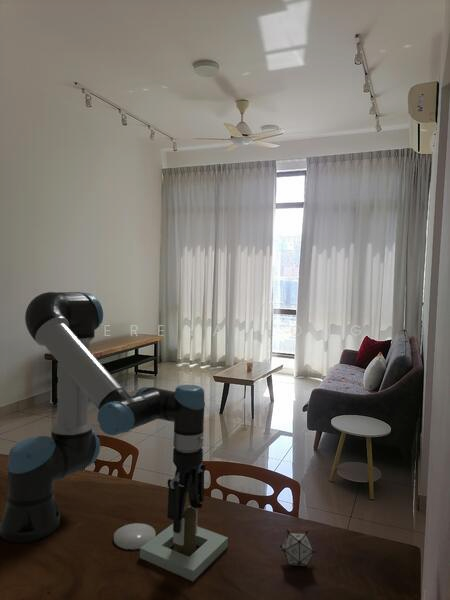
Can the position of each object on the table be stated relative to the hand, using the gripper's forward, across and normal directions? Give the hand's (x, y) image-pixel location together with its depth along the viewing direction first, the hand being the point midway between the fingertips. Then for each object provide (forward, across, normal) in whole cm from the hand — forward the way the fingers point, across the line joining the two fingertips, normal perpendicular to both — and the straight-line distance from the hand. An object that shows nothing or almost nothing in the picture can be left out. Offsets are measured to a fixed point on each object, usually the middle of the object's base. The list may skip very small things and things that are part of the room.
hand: (185, 537), depth 112 cm
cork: (+4, 0, 0) cm, 4 cm away
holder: (+4, 0, 0) cm, 4 cm away
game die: (+4, +11, -26) cm, 29 cm away
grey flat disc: (+4, -2, +15) cm, 16 cm away
